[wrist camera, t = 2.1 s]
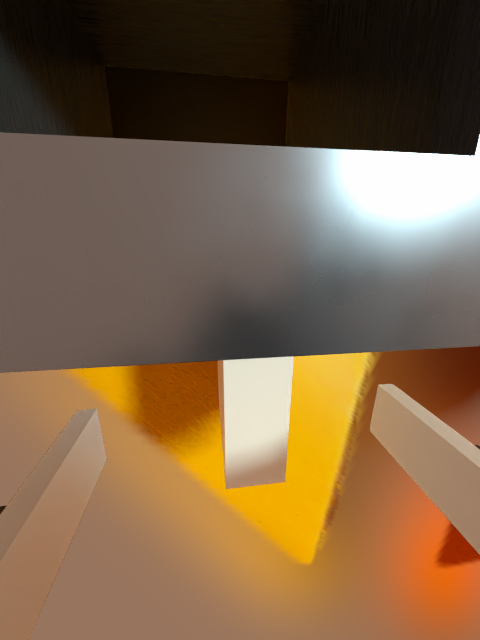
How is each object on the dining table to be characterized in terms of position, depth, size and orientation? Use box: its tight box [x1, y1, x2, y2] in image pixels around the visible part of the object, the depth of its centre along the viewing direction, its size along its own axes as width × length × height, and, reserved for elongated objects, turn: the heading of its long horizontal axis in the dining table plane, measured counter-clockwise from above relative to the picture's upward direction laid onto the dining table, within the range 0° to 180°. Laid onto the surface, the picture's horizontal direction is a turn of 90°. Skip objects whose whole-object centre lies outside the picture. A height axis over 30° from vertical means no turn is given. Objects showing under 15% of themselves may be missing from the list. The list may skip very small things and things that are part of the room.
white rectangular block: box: [218, 356, 294, 489], centre depth 15 cm, size 7×3×8 cm, turn 0°
